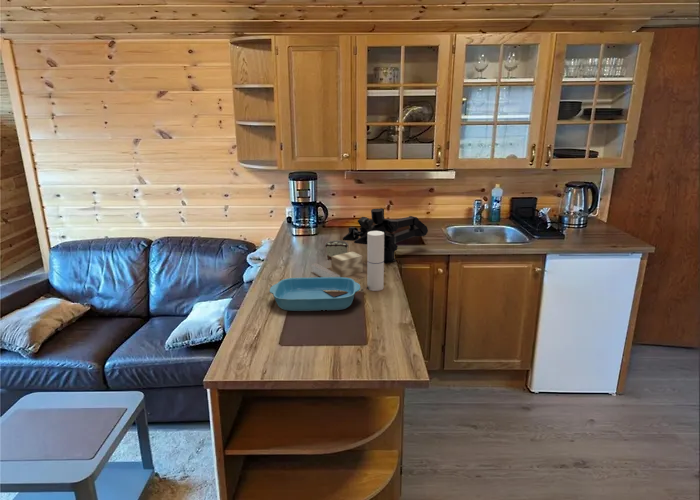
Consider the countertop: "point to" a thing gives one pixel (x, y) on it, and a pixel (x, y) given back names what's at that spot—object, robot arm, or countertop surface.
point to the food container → (335, 248)
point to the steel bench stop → (322, 271)
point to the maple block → (347, 264)
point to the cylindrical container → (375, 260)
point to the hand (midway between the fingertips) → (348, 240)
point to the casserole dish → (314, 293)
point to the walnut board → (355, 276)
